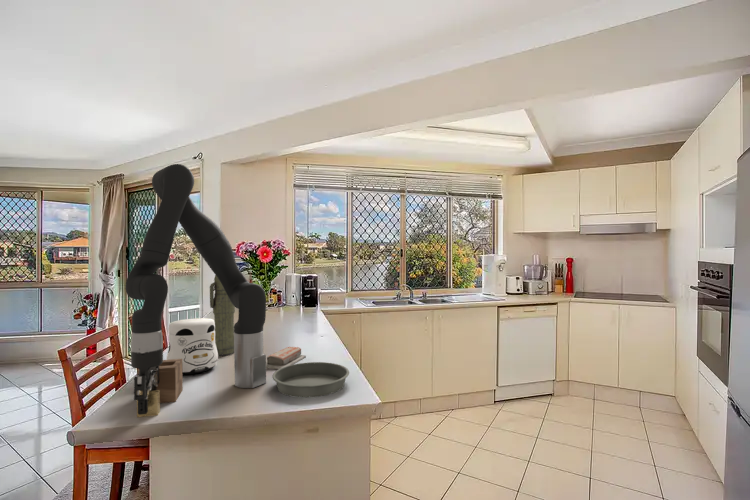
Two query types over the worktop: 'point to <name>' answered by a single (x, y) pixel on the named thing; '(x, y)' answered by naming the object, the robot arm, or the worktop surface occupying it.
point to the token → (152, 404)
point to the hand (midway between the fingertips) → (147, 407)
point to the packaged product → (284, 358)
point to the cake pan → (310, 379)
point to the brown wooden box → (170, 380)
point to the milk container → (193, 344)
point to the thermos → (222, 318)
